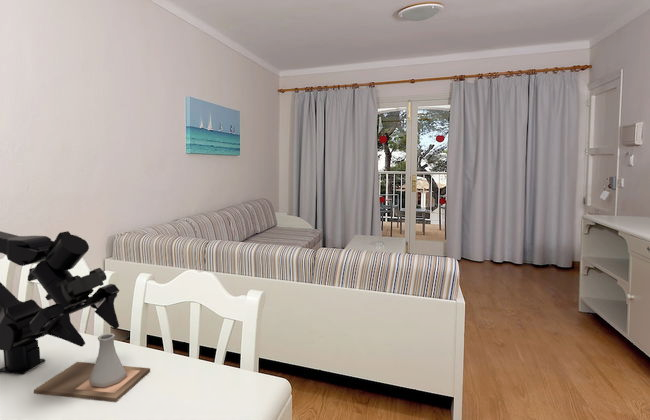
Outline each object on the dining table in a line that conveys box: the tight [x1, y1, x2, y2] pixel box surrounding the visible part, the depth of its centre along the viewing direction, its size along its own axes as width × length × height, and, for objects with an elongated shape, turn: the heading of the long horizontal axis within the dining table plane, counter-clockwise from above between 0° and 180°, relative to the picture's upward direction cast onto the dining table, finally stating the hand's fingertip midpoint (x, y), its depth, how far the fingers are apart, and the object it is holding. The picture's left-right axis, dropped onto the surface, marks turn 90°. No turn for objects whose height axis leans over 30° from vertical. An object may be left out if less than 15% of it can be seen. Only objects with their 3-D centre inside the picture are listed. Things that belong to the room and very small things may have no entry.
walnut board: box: [33, 361, 151, 403], centre depth 86 cm, size 19×12×1 cm, turn 82°
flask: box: [89, 332, 128, 387], centre depth 85 cm, size 7×7×10 cm
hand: (101, 335), depth 85 cm, fingers open, 9 cm apart
